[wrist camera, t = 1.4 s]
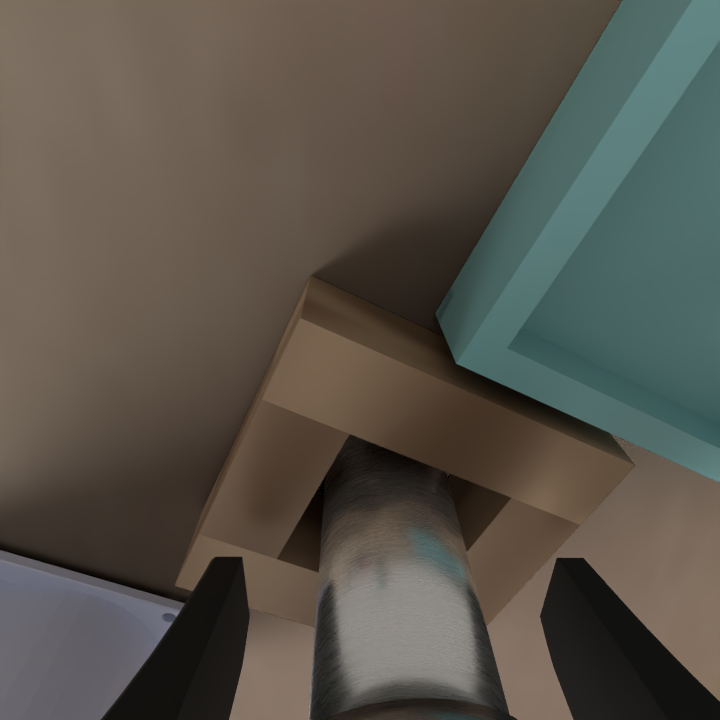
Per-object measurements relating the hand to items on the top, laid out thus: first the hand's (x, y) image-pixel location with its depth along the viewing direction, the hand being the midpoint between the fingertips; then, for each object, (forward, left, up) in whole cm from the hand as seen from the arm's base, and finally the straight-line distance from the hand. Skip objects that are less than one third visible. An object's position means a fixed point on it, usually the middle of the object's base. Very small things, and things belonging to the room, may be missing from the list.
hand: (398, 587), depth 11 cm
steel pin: (0, 0, -5) cm, 5 cm away
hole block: (0, 0, -5) cm, 5 cm away
